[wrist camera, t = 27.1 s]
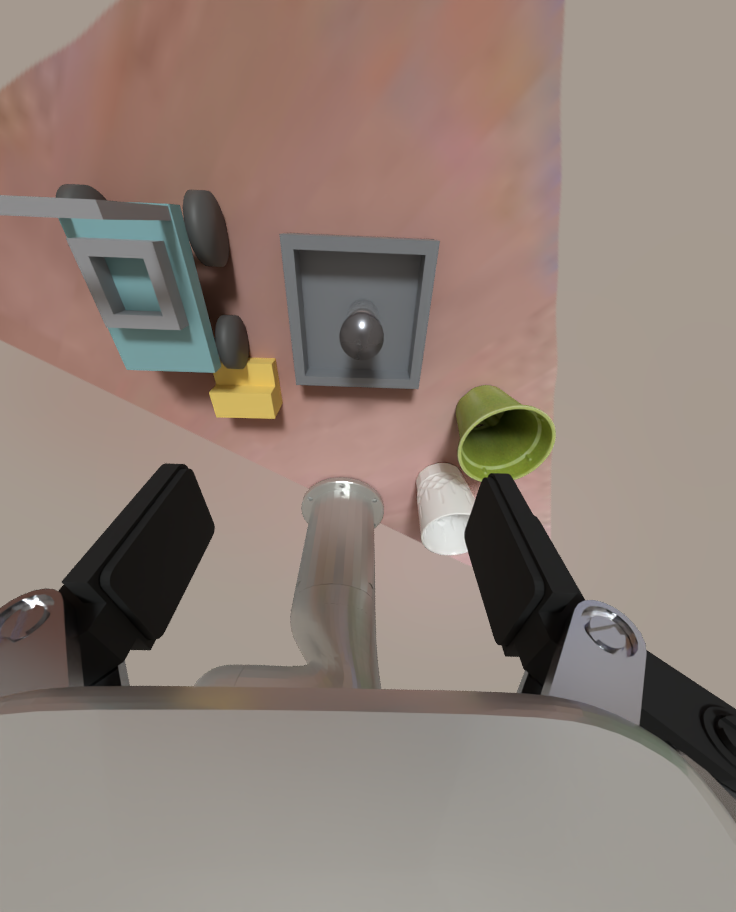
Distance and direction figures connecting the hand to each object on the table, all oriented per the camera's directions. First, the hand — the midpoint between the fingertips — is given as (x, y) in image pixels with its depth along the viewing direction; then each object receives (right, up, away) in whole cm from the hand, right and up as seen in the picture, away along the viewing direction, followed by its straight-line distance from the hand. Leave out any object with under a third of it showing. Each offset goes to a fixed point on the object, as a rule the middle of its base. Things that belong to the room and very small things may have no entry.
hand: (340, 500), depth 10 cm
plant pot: (+15, +8, +27) cm, 32 cm away
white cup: (+11, -2, +35) cm, 36 cm away
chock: (-13, +10, +26) cm, 30 cm away
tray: (0, +16, +21) cm, 26 cm away
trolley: (-17, +18, +19) cm, 31 cm away
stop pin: (0, +15, +20) cm, 26 cm away
